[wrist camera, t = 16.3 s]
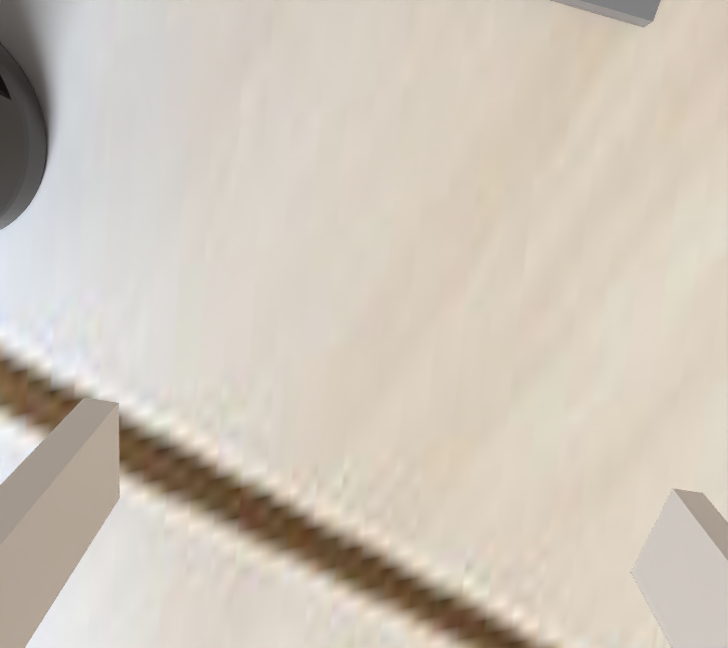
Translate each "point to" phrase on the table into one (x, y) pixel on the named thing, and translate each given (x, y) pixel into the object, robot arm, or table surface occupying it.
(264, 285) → the table surface
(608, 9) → the control panel
